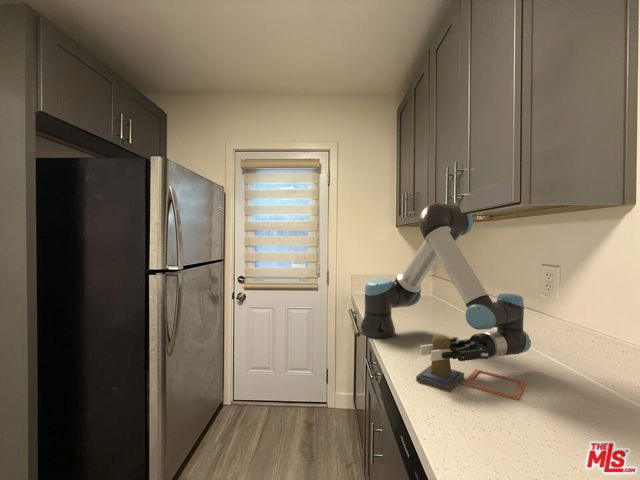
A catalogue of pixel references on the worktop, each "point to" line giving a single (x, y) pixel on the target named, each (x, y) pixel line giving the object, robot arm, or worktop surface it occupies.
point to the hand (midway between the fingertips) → (426, 353)
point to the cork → (441, 366)
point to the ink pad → (440, 379)
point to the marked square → (516, 396)
